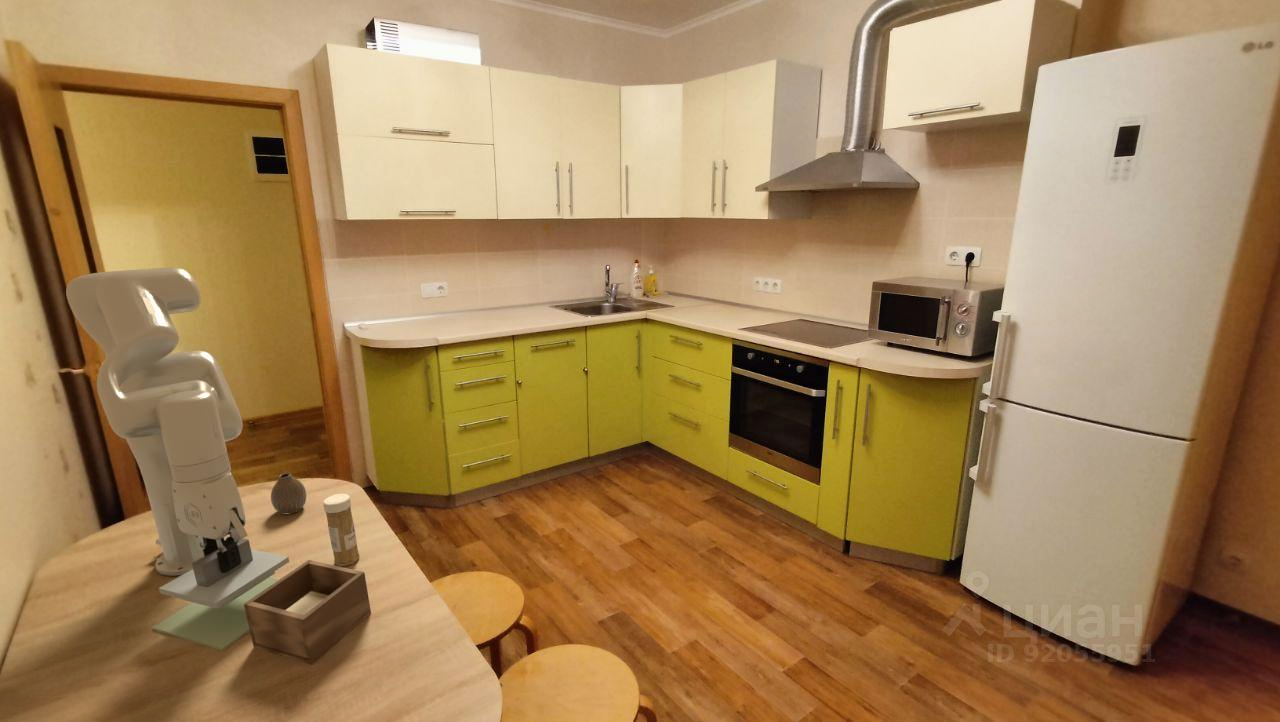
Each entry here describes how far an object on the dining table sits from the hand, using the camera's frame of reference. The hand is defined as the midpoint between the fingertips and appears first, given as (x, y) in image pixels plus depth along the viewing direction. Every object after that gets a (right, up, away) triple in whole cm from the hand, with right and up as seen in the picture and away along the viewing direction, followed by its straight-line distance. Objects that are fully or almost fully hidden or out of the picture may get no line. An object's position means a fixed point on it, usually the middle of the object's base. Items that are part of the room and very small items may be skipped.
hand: (224, 566), depth 98 cm
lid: (0, -4, +1) cm, 4 cm away
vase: (-10, 0, +35) cm, 36 cm away
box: (+17, -9, -3) cm, 20 cm away
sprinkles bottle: (+13, -5, +15) cm, 21 cm away
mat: (0, -8, +2) cm, 8 cm away
